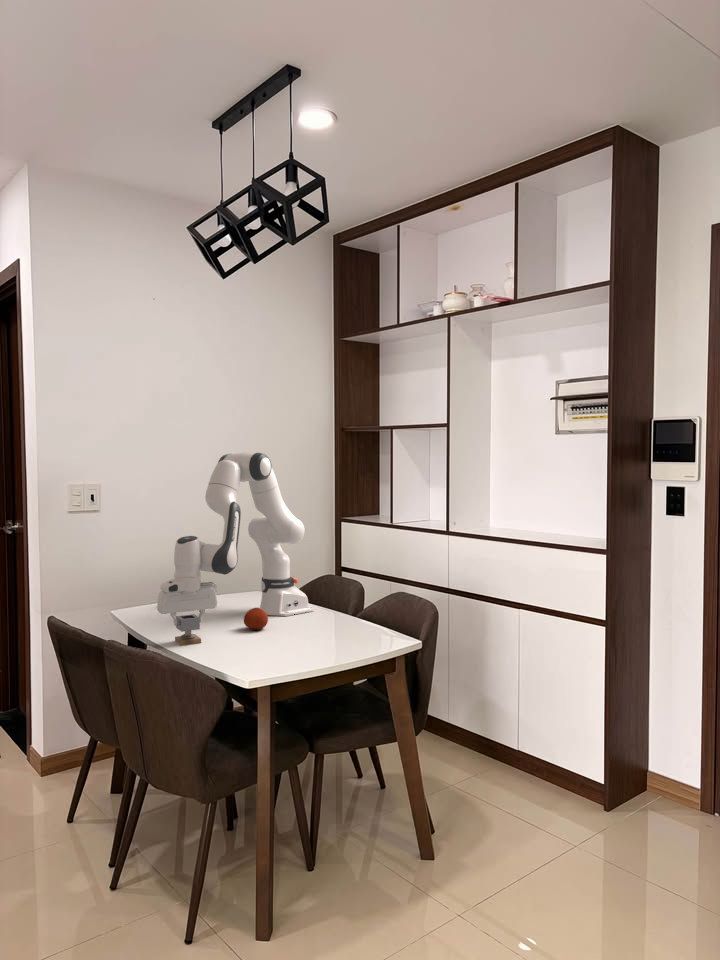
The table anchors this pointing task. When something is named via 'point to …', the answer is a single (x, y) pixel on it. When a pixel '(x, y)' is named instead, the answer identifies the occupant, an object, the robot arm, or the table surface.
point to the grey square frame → (188, 622)
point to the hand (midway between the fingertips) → (187, 623)
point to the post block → (187, 639)
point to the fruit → (255, 619)
